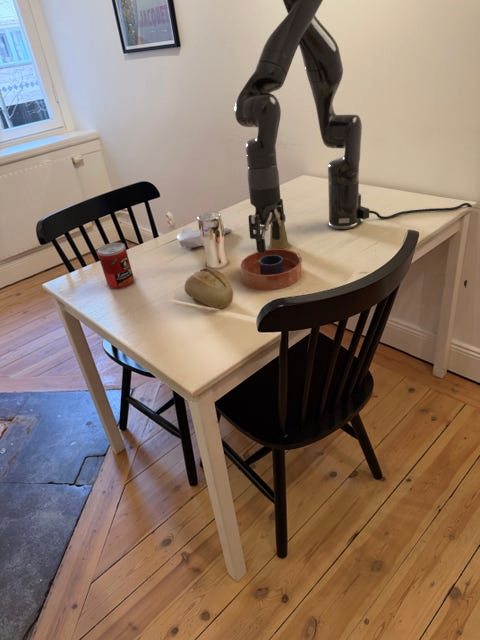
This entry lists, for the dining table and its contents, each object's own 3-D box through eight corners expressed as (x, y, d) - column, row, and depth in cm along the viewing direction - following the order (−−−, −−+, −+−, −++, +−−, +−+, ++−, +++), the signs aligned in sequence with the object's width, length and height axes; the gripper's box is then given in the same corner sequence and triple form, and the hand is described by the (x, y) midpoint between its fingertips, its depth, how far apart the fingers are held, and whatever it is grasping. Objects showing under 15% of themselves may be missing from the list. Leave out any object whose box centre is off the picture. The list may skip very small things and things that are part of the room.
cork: (287, 251, 140) (285, 216, 134) (268, 251, 141) (264, 217, 135) (290, 242, 144) (287, 208, 139) (270, 243, 146) (267, 209, 140)
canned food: (121, 291, 131) (111, 255, 125) (102, 286, 135) (90, 251, 129) (140, 278, 136) (130, 244, 130) (120, 274, 140) (110, 240, 134)
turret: (236, 239, 158) (235, 225, 155) (191, 252, 145) (190, 237, 143) (215, 233, 164) (215, 220, 162) (170, 246, 151) (169, 232, 149)
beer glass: (232, 259, 139) (225, 211, 131) (223, 270, 134) (216, 220, 126) (210, 258, 142) (202, 211, 134) (201, 269, 136) (192, 220, 128)
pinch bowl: (267, 268, 130) (266, 253, 128) (287, 271, 127) (286, 256, 125) (256, 278, 126) (255, 263, 124) (277, 282, 123) (276, 266, 121)
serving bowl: (280, 258, 136) (279, 243, 134) (314, 277, 123) (314, 262, 121) (232, 275, 130) (230, 261, 128) (263, 298, 118) (261, 282, 115)
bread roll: (204, 285, 128) (199, 258, 123) (244, 299, 118) (240, 271, 114) (178, 300, 122) (171, 273, 118) (217, 317, 113) (212, 288, 108)
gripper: (263, 193, 106) (269, 258, 115) (290, 175, 116) (294, 236, 125) (235, 192, 110) (243, 254, 119) (264, 174, 120) (269, 233, 129)
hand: (269, 245), depth 122 cm, fingers open, 8 cm apart
